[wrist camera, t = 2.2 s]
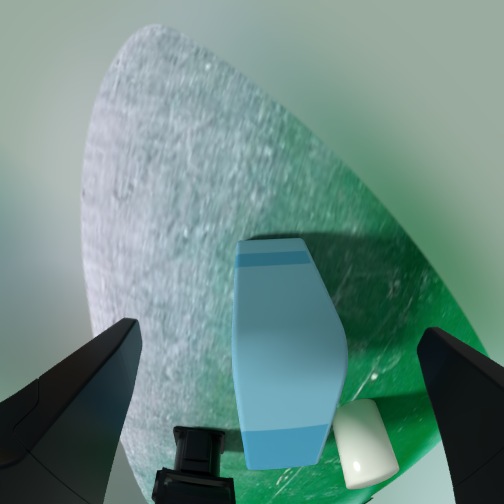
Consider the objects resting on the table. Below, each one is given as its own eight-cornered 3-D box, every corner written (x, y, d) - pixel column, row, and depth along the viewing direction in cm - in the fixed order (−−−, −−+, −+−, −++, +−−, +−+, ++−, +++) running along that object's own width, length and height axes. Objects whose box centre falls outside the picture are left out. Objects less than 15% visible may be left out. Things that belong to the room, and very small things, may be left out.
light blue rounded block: (236, 233, 21) (229, 359, 10) (300, 230, 21) (355, 349, 10) (245, 357, 26) (247, 476, 15) (295, 353, 26) (316, 470, 15)
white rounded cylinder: (365, 422, 32) (384, 482, 23) (325, 426, 32) (338, 492, 23) (383, 396, 30) (408, 462, 21) (339, 400, 29) (359, 474, 20)
